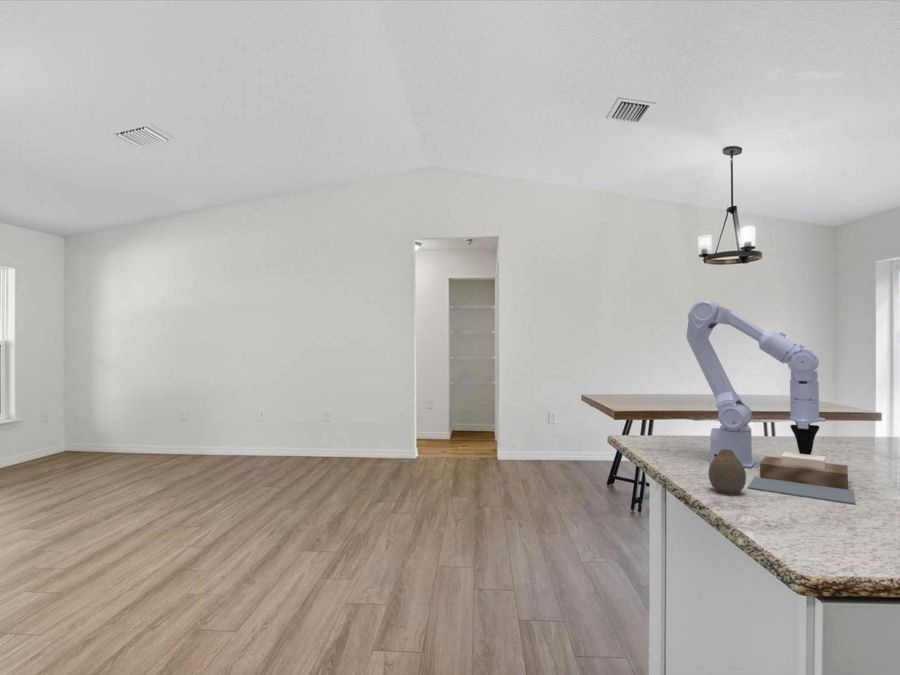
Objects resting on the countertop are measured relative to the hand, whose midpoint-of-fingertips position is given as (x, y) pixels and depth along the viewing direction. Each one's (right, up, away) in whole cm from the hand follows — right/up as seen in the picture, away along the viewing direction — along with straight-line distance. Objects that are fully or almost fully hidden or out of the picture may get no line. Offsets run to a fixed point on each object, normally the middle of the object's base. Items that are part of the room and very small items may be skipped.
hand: (805, 454), depth 121 cm
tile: (-5, -1, -6) cm, 8 cm away
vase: (-28, -4, -16) cm, 33 cm away
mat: (-12, -4, -15) cm, 20 cm away
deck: (-5, -4, -7) cm, 10 cm away
